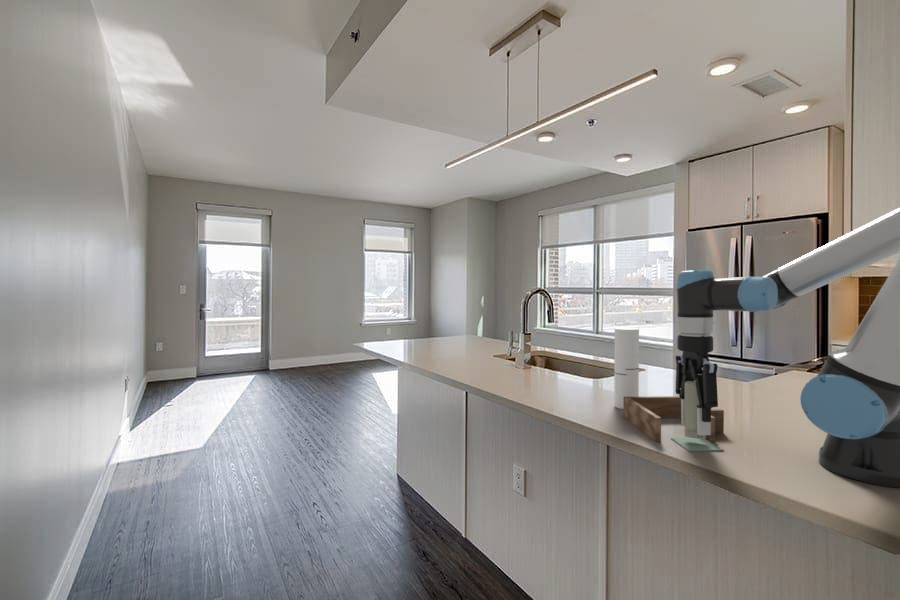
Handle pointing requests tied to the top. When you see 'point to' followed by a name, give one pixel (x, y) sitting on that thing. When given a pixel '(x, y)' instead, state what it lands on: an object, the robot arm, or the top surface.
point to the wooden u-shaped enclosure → (663, 414)
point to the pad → (696, 444)
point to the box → (691, 410)
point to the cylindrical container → (626, 365)
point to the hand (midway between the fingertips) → (695, 429)
